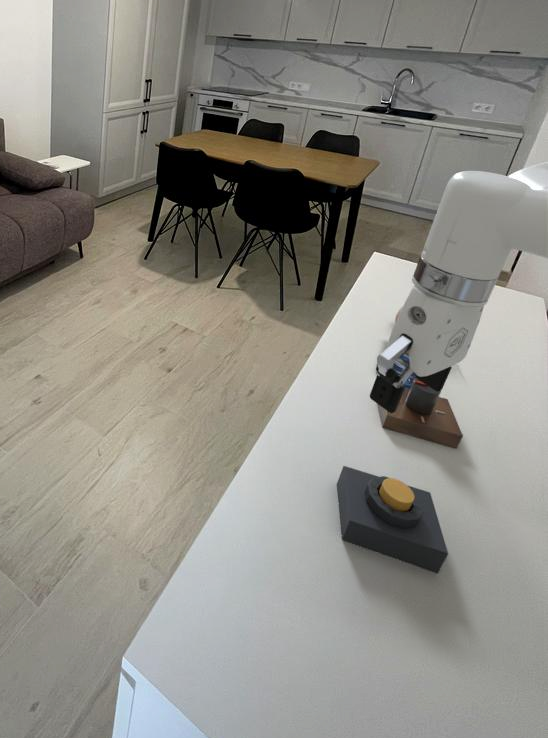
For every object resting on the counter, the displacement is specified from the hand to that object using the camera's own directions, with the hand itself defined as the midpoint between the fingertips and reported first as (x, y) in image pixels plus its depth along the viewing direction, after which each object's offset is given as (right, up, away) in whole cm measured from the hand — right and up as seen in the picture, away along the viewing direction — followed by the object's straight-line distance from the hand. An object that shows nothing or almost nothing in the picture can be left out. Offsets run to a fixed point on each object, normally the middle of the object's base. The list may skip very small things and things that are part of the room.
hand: (405, 394), depth 64 cm
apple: (+36, -4, +56) cm, 66 cm away
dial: (+20, -12, +28) cm, 37 cm away
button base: (+2, -22, +9) cm, 24 cm away
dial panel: (+20, -14, +30) cm, 38 cm away
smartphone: (+26, -9, +43) cm, 51 cm away
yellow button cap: (+2, -17, +7) cm, 18 cm away
